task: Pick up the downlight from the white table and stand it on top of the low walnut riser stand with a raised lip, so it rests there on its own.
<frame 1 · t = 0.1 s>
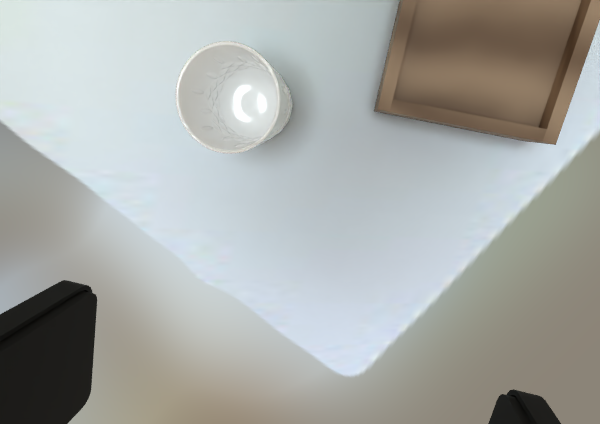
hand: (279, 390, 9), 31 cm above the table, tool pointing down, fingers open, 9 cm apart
white cup: (259, 104, 39), on the table
walnut stand: (471, 46, 35), on the table
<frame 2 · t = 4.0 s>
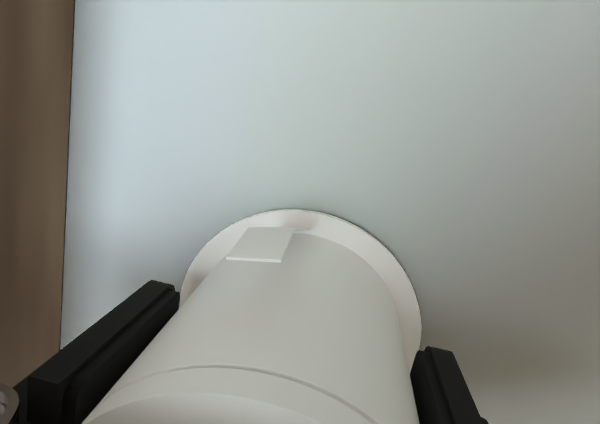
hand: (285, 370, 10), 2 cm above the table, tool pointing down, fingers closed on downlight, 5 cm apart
downlight: (297, 322, 12), on the table, touching gripper
when the fingers open (7 cm above the table, at t = 12.1 s): downlight stays where it is, resting on walnut stand.
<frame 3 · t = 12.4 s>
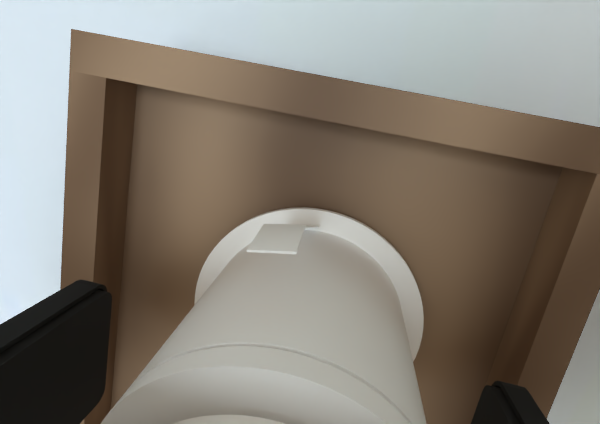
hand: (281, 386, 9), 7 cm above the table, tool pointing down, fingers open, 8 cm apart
walnut stand: (312, 269, 16), on the table
downlight: (306, 315, 13), point 4 cm above the table, touching walnut stand
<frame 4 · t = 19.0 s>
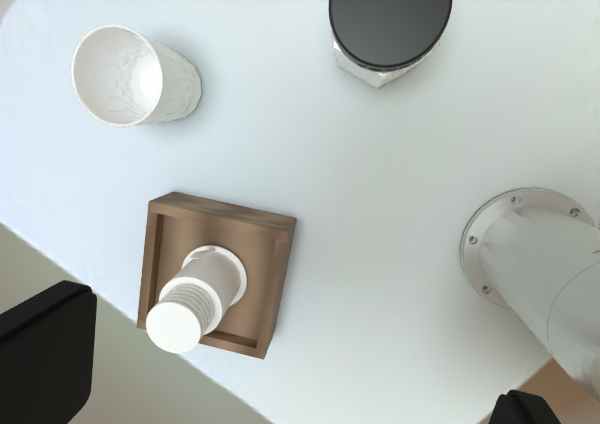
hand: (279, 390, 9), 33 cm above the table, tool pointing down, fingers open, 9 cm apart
white cup: (172, 87, 41), on the table
walnut stand: (225, 263, 45), on the table
jar: (378, 40, 38), on the table
downlight: (215, 276, 41), point 4 cm above the table, touching walnut stand
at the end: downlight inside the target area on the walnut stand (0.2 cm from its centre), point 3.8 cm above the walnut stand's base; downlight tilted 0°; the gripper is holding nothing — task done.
